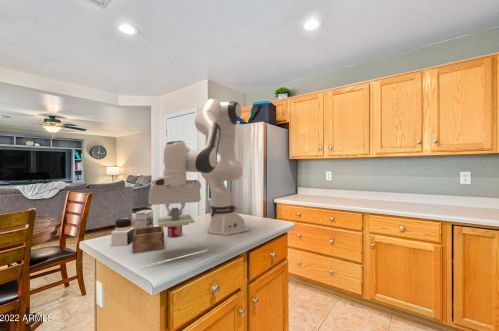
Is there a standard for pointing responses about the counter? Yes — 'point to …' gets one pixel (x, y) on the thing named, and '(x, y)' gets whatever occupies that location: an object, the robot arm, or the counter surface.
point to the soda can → (174, 230)
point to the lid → (175, 219)
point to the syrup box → (144, 219)
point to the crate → (148, 239)
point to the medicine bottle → (122, 233)
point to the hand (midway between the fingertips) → (175, 214)
